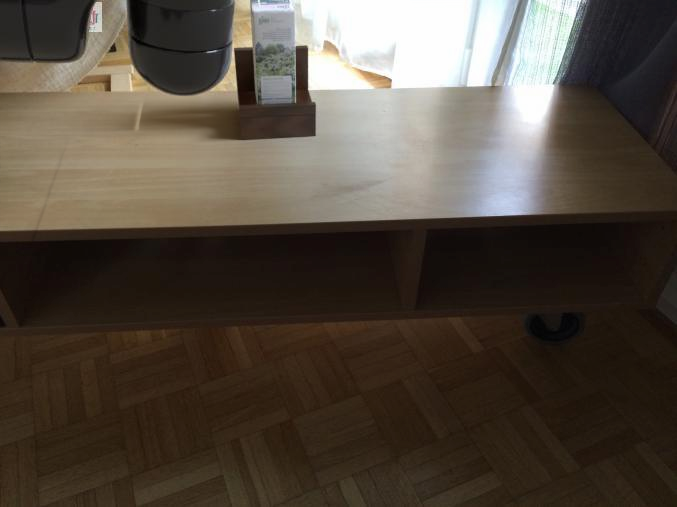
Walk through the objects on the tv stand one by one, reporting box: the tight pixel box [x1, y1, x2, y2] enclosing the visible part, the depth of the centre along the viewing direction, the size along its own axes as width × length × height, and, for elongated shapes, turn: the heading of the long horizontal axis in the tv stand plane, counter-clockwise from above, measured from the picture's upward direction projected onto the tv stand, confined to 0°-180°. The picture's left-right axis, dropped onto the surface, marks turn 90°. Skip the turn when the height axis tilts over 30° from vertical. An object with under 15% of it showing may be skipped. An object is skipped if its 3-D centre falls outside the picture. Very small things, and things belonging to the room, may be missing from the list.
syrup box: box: [249, 0, 296, 105], centre depth 87 cm, size 6×6×14 cm
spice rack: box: [233, 44, 317, 141], centre depth 91 cm, size 11×10×10 cm
